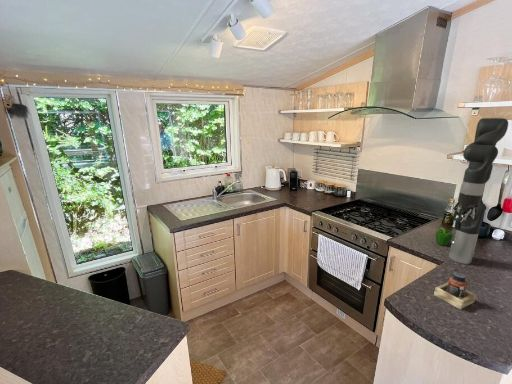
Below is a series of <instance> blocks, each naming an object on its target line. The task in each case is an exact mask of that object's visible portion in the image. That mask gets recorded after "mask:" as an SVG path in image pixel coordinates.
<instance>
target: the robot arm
mask: <svg viewBox="0 0 512 384" xmlns="http://www.w3.org/2000/svg"><path fill="white" fill-rule="evenodd" d="M508 127H509V120H508V119H507V118H502V117H500V118H496V117H483V118H480V119H479V120H478V122H477V124H476V128H475V134H474V140H473V142H471V143H470V144H469V145H467V146H466V147H465V149H464V151H463V154H462V156H463V159H464V160H465V161H466V162H467V161H468V162H469V163H468V167H466V169H465V171H464V175H463V180H462V182H461V186H460V189H459V193H458V197H457V202H458V206H455V209H454V213H453V217H452V220H453V221H454V226H453V229H454V230H456V231H455V235H454V239H453V241H452V240H451V245H450V248H449V249H450V250H449V253H448V258H450V260H452V261H455V262H457V263H460V264H463V265H464V264H465V265H469V264H472V260H473V256H474V254H475V251H476V250H475V249H476V245H477V241H478V236H479V234H480V229H481V226H482V222H483V218H484V216H485V213H486V208H487V207H486V204H485V203H482V202H481V201H482V197H483V193H484V190H485V189H484V188H485V184H486V183H487V182H489V180H490V178H491V175H492V171H493V167H494V166H493V163H494V162H495V160H496V158H497V156H498V154H499V149H498V147H497V144H498V142H500V140H502V139H503V138H504V137H505V136H506V133H508ZM464 220H465V222H463V221H464Z"/></svg>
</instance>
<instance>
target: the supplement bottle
mask: <svg viewBox="0 0 512 384" xmlns="http://www.w3.org/2000/svg"><path fill="white" fill-rule="evenodd" d="M448 279H449V280H448V282H449V283H448V287H447V291H446V292H447V293H449V294H451V295H453V296H455V297H457V298H459V299H463V298H464V294H465V290H467V285H468V282H467V280H466V275H465V274H463V273H460V272H453V275H452V276H450V277H449V278H448Z"/></svg>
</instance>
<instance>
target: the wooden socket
mask: <svg viewBox="0 0 512 384" xmlns="http://www.w3.org/2000/svg"><path fill="white" fill-rule="evenodd" d="M448 283H449V281H447V282H445V283H443V284H441V285H438V286H436V287H434V292H433V293H434V294H433V295H434V296H435V297H437V298H439V299H441V300H443V301H444V302H446V303H448V304H450V305H452V306H454V307H455V308H457V309H459V310H462V309H464V308H466V307H468V306H470V305H471V304H473V303H475V301H476V296H477V294H475V293H472V292H471V291H469V290H467V289H466V290H465V294H464V298H463V299H459V298H457V297H455V296H453V295H451V294H449V293H447V292H446V291H447V287H448Z"/></svg>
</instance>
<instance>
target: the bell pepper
mask: <svg viewBox="0 0 512 384" xmlns="http://www.w3.org/2000/svg"><path fill="white" fill-rule="evenodd" d="M453 236H454V235H453V233H451V232H449V231H447V230H446V229H445V228H443V227H440V230H439V229H438V230H436V231H435V242H436V243H437V244H438V245H441V246H448V245H449V244H450V243H451V242H452V239H453Z"/></svg>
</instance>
